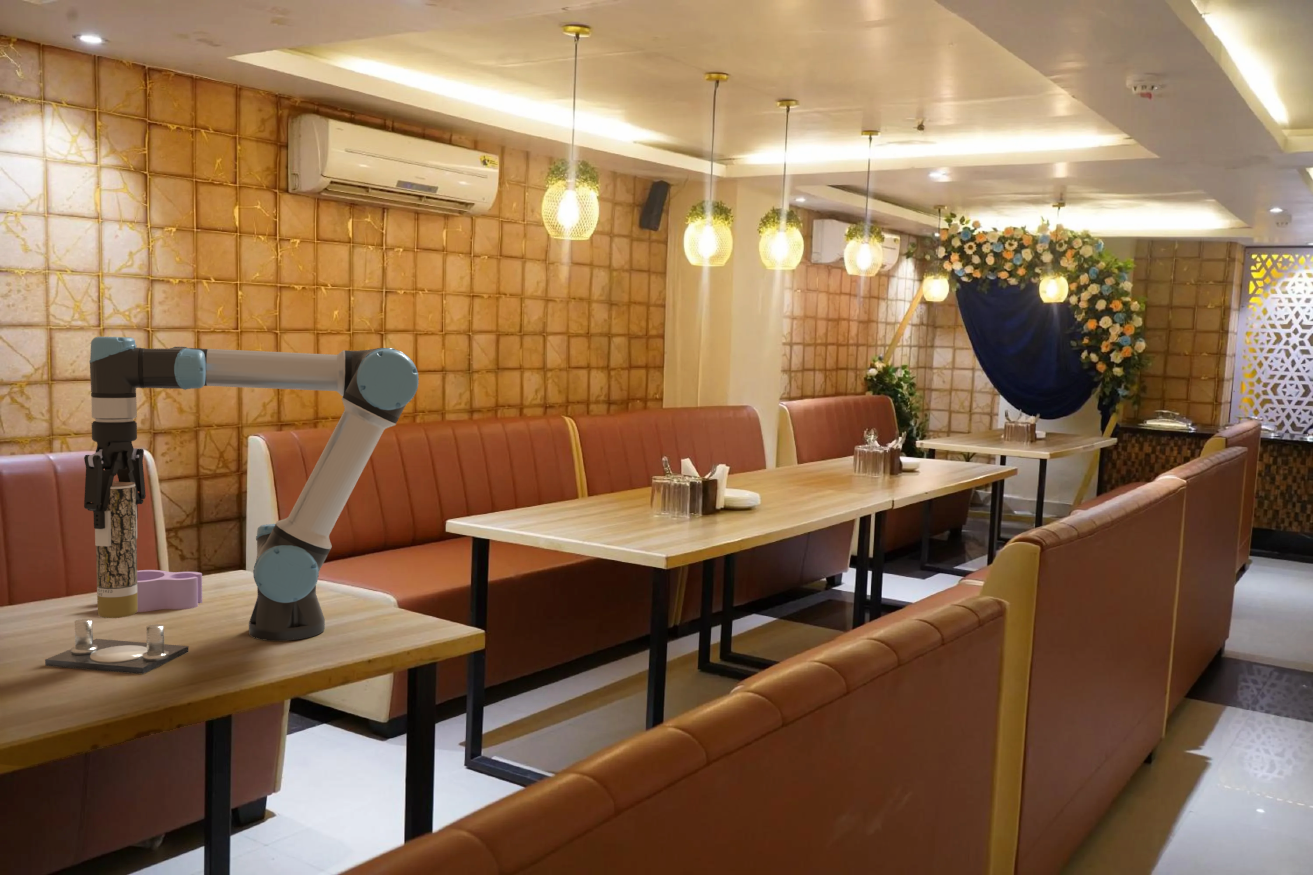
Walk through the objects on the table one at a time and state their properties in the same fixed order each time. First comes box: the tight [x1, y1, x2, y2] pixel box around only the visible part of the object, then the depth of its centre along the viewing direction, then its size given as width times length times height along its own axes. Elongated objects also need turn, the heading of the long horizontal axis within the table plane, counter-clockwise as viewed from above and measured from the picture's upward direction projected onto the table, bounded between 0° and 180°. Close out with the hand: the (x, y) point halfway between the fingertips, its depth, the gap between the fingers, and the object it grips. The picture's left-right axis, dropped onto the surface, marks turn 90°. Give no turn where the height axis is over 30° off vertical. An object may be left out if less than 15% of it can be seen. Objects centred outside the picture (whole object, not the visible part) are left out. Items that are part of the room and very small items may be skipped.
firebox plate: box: [44, 638, 189, 675], centre depth 203 cm, size 20×14×1 cm
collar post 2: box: [143, 623, 169, 661], centre depth 200 cm, size 4×4×6 cm
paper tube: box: [95, 480, 138, 619], centre depth 200 cm, size 7×7×25 cm
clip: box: [136, 569, 203, 613], centre depth 242 cm, size 20×12×7 cm, turn 98°
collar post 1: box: [70, 618, 97, 655], centre depth 203 cm, size 4×4×6 cm
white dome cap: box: [90, 645, 147, 663], centre depth 202 cm, size 10×10×1 cm
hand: (116, 541), depth 200 cm, fingers closed on paper tube, 7 cm apart
